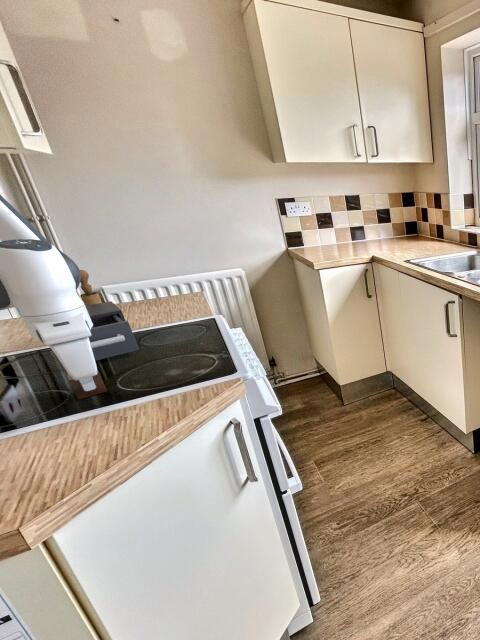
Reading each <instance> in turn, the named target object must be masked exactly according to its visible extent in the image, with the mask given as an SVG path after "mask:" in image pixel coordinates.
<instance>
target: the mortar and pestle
mask: <svg viewBox="0 0 480 640" xmlns="http://www.w3.org/2000/svg"><path fill="white" fill-rule="evenodd" d="M79 270H80V273H81V280H80V289H81V290H82V292H83V293H81V294H80V295H79V297H80V299H81V300H82V301H83V302H84V304H85V306H88V305H93V304H99V303H103V302H102V299H101V297H100V294H99V292H97V291H93V287H92V285H91V284H89V278H90V274H89V273H88V272H87V271H86V270H85V269H79Z"/></svg>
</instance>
